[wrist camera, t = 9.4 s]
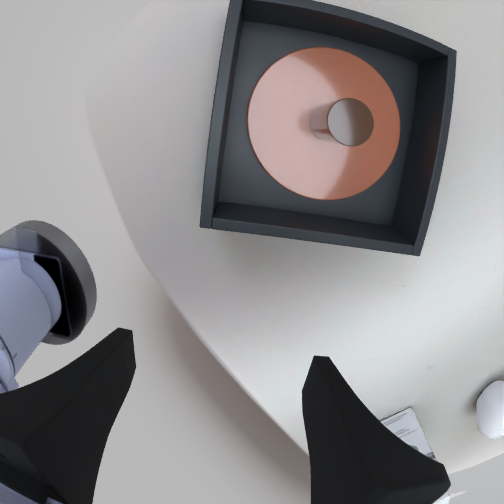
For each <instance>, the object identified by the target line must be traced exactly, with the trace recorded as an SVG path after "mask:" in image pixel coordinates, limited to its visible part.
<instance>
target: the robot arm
mask: <svg viewBox="0 0 504 504" xmlns="http://www.w3.org/2000/svg"><path fill="white" fill-rule="evenodd" d="M50 260H51V261H52V263H53V264H52V263H51V262H50ZM62 330H63V331H62ZM48 332H51V333H55V334H59V335H63V336H67V337H69V336H70V335H71V334H72V329H71V324H70V318H69V313H68V307H67V301H66V294H65V287H64V280H63V272H62V263H61V260H60V259H59V258H58V257H56V256H49V255H43V254H37V253H31V252H25V251H19V250H14V249H8V248H2V247H0V504H92V502H93V496H94V490H95V485H96V480H97V475H98V471H99V467H100V463H101V459H102V455H103V451H104V448H105V445H106V442H107V438H108V435H109V433H110V430H111V428H112V426H113V423H114V421H115V419H116V417H117V414H118V412H119V410H120V408H121V406H122V404H123V402H124V399H125V397H126V395H127V393H128V391H129V388H130V385H131V382H132V379H133V376H134V373H135V369H136V362H135V354H134V344H133V333H132V330H128V329H123V328H117V329H116V330H114V331H113V332H112V333H110V334H109V335H108V336H107V337H105V338H104V339H103V340H102V341H100V342H99V343H98V344H96V345H95V346H94V347H92V348H91V349H90V350H89V351H87V352H86V353H84V354H83V355H82V356H80V357H79V358H77V359H76V360H74V361H73V362H71V363H70V364H68V365H67V366H65V367H63V368H62V369H60V370H58V371H56V372H55V373H53V374H51V375H49V376H47V377H45V378H43V379H40V380H38V381H36V382H33V383H31V384H29V385H26V386H24V387H21V388H18V387H19V385H18V383H17V382H16V380H15V376H16V374H17V373H18V372H19V370H20V369H21V368H22V366H23V365H24V363H25V362H26V361H27V359H28V358H29V357H30V355H31V354H32V353H33V351H34V350H35V349H36V347H37V346H38V345H39V343H40V342H41V341H42V339H43V338H44V337H45V336H46V334H47V333H48ZM17 388H18V389H17ZM302 409H303V418H304V425H305V431H306V437H307V443H308V450H309V456H310V466H311V504H433V503H434V502H435V501H437V500H438V499H439V498H440V497H441V496H443V495H444V494H445V493H446V492H447V491H448V489H449V487H450V485H451V483H450V480H449V478H448V475H447V472H446V469H445V467H444V465H443V464H441V463H439V462H437V461H435V460H433V459H432V458H430V457H428V456H426V455H424V454H422V453H421V452H419V451H417V450H416V449H414V448H413V447H411V446H410V445H408V444H407V443H405V442H404V441H403V440H401V439H400V438H399V437H397V436H396V435H395V434H394V433H392V432H391V431H390V430H389V429H388V428H387V427H385V426H384V425H383V424H382V423H381V422H380V421H379V420H378V419H377V418H376V417H375V416H374V415H373V414H372V413H371V412H370V411H369V410H368V408H367V407H366V406H365V405H364V404H363V403H362V402H361V400H360V399H359V398H358V397H357V395H356V394H355V393H354V391H353V390H352V389H351V388H350V386H349V385H348V384H347V382H346V381H345V379H344V378H343V377H342V375H341V374H340V372H339V371H338V369H337V368H336V366H335V365H334V364H333V362H332V361H331V359H330V358H329V357H325V356H314V357H313V360H312V363H311V366H310V369H309V372H308V375H307V378H306V381H305V384H304V387H303V389H302Z"/></svg>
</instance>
